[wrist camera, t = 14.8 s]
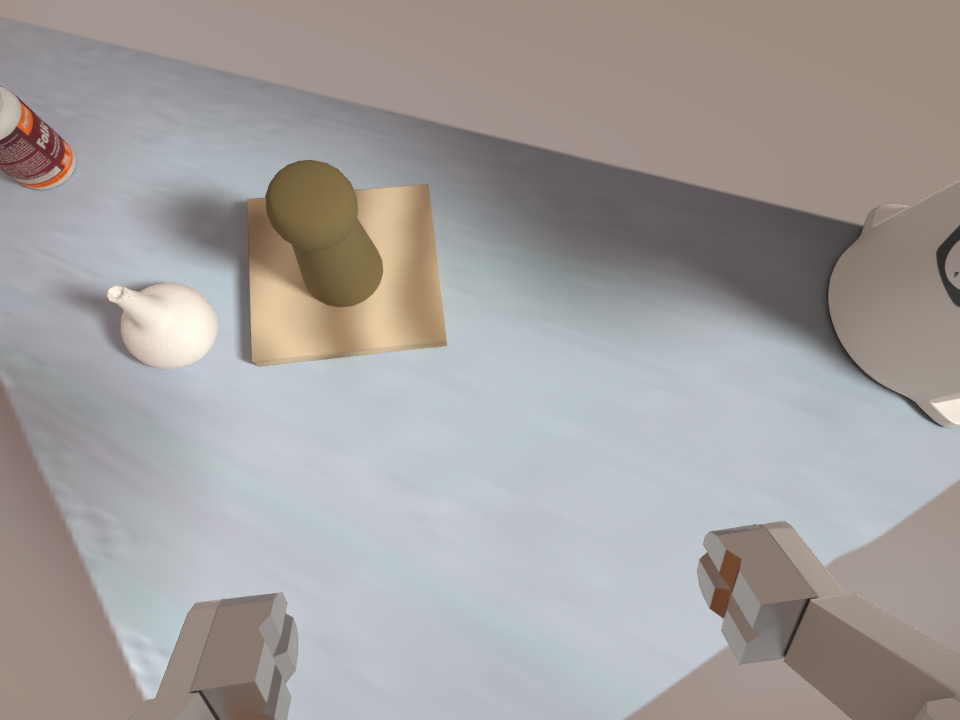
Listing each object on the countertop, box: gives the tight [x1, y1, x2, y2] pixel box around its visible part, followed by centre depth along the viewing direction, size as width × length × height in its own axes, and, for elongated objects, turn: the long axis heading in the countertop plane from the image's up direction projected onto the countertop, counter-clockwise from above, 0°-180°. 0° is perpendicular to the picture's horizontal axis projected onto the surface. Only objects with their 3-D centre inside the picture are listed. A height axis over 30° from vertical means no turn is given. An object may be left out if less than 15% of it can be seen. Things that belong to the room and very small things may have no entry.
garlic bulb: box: [106, 283, 218, 369], centre depth 37 cm, size 6×6×8 cm
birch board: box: [247, 184, 447, 366], centre depth 41 cm, size 14×13×2 cm
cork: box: [265, 160, 383, 307], centre depth 35 cm, size 6×6×11 cm
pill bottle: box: [0, 86, 76, 190], centre depth 39 cm, size 5×5×8 cm
